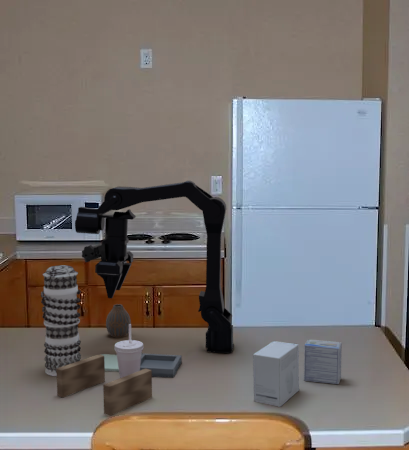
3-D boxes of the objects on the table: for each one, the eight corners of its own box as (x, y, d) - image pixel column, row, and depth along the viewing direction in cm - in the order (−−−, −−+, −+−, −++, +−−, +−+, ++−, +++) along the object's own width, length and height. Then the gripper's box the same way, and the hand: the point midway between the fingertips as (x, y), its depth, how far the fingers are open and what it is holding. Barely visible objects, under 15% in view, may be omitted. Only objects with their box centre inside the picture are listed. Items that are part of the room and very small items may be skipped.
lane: (99, 379, 148) (98, 354, 148) (152, 397, 138) (151, 370, 137) (57, 395, 139) (56, 368, 138) (110, 415, 129) (109, 386, 128)
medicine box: (341, 378, 149) (342, 341, 148) (338, 385, 145) (339, 347, 144) (307, 374, 151) (307, 338, 150) (303, 381, 147) (304, 344, 146)
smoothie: (149, 383, 146) (148, 323, 144) (134, 393, 140) (133, 330, 138) (125, 379, 149) (123, 319, 147) (109, 388, 143) (108, 327, 141)
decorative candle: (57, 361, 161) (53, 262, 157) (90, 366, 157) (87, 264, 154) (35, 374, 152) (31, 269, 149) (70, 378, 149) (66, 272, 146)
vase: (133, 332, 185) (132, 302, 184) (128, 339, 179) (127, 308, 177) (109, 331, 186) (109, 301, 185) (103, 338, 179) (102, 307, 178)
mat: (140, 358, 163) (140, 355, 163) (129, 372, 153) (129, 369, 153) (102, 356, 165) (101, 354, 164) (88, 369, 155) (88, 367, 155)
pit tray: (181, 363, 159) (181, 355, 159) (173, 377, 149) (173, 369, 149) (142, 361, 161) (141, 353, 161) (131, 375, 151) (131, 367, 151)
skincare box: (272, 385, 145) (272, 339, 144) (299, 390, 142) (300, 344, 140) (251, 401, 136) (252, 352, 135) (280, 407, 133) (280, 358, 131)
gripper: (94, 228, 178) (92, 284, 180) (75, 238, 159) (74, 300, 161) (134, 231, 177) (132, 287, 179) (120, 241, 159) (118, 303, 161)
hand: (114, 294), depth 170 cm, fingers open, 9 cm apart
